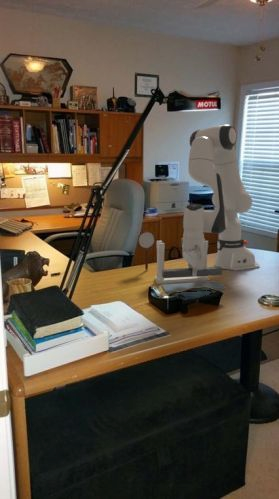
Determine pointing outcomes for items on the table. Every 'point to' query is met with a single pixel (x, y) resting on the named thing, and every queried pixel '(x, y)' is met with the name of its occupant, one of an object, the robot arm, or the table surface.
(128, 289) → the table surface
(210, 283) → the mat
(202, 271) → the rail
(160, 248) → the frame
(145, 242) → the magnifying glass
